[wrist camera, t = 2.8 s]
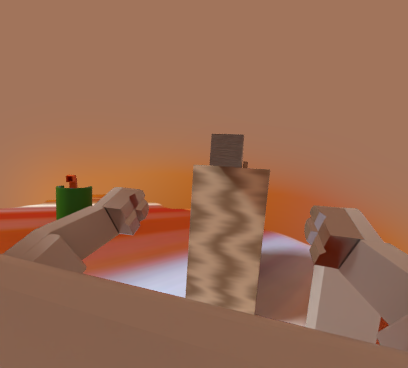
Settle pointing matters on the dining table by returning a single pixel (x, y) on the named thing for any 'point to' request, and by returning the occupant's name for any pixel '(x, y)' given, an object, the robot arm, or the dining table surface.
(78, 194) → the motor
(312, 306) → the rack
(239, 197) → the stand
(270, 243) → the dining table surface
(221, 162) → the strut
